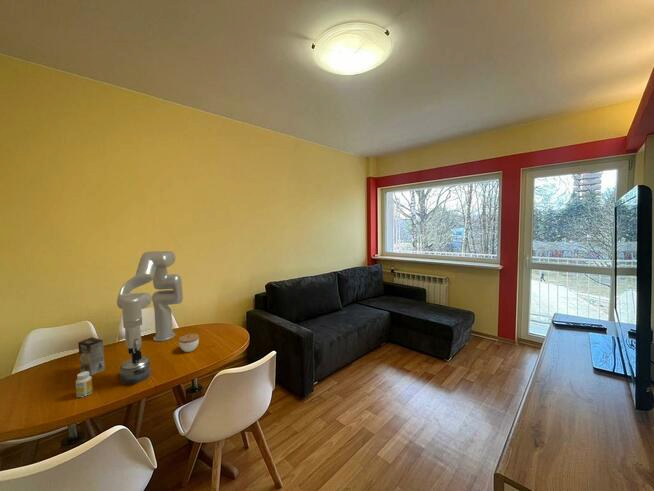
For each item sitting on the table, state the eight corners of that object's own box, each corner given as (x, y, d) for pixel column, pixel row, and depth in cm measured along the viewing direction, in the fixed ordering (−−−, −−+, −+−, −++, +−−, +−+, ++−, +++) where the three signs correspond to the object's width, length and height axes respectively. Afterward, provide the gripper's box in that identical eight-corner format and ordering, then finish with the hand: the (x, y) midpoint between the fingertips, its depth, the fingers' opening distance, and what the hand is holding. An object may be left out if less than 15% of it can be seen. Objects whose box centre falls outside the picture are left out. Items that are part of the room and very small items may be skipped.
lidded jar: (203, 346, 167) (202, 331, 166) (192, 354, 156) (192, 338, 155) (186, 345, 168) (186, 330, 167) (175, 353, 157) (174, 338, 156)
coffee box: (79, 372, 137) (77, 342, 136) (94, 366, 143) (91, 337, 142) (91, 375, 134) (89, 344, 133) (105, 369, 140) (103, 339, 139)
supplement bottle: (77, 399, 117) (75, 378, 116) (75, 394, 120) (73, 374, 119) (93, 393, 121) (92, 373, 120) (91, 388, 124) (89, 368, 123)
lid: (119, 363, 133) (118, 352, 132) (145, 355, 141) (144, 344, 140) (124, 372, 125) (123, 360, 125) (151, 363, 133) (151, 352, 133)
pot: (117, 375, 135) (116, 362, 134) (146, 366, 143) (145, 353, 143) (125, 389, 123) (124, 375, 123) (155, 378, 132) (154, 365, 132)
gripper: (119, 320, 134) (121, 353, 136) (127, 330, 122) (129, 365, 124) (137, 316, 140) (139, 348, 141) (146, 325, 128) (148, 359, 129)
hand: (135, 356), depth 133 cm, fingers open, 9 cm apart
